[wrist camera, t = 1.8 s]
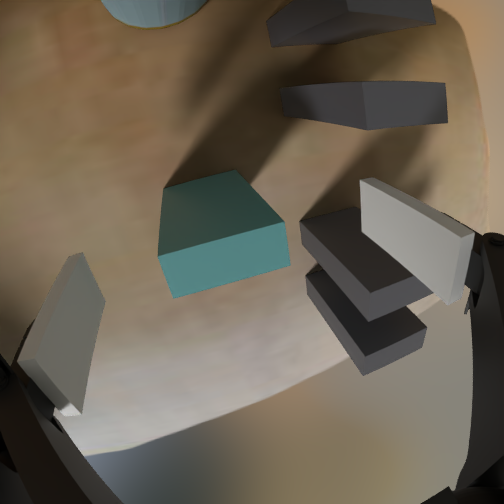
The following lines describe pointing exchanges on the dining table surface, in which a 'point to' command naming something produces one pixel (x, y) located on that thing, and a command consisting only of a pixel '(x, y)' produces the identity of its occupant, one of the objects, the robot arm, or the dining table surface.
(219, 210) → the domino
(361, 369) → the domino
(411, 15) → the domino
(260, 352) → the dining table surface
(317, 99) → the domino
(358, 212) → the domino
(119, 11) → the bottle
